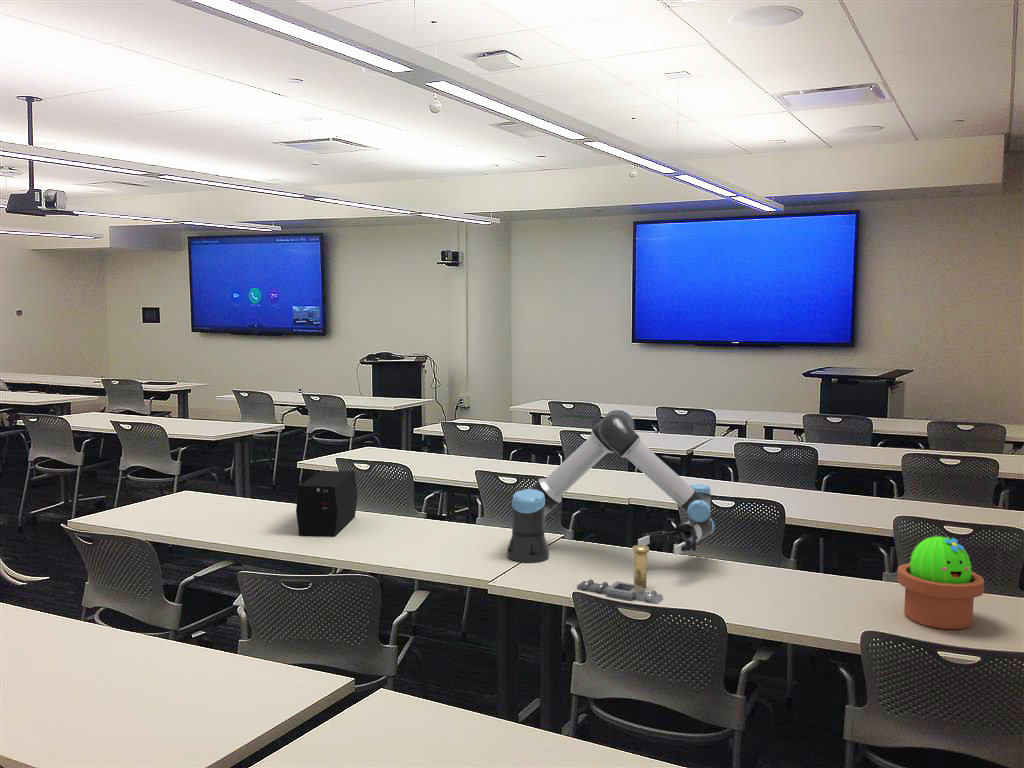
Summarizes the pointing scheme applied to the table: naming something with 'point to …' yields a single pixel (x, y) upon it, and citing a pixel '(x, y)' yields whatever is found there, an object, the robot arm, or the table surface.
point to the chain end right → (634, 592)
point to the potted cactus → (940, 584)
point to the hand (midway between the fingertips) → (656, 547)
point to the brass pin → (640, 565)
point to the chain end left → (602, 589)
